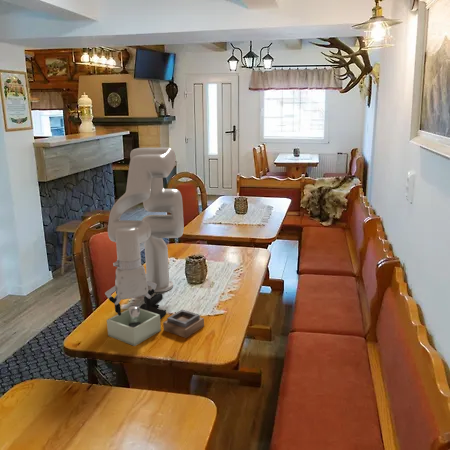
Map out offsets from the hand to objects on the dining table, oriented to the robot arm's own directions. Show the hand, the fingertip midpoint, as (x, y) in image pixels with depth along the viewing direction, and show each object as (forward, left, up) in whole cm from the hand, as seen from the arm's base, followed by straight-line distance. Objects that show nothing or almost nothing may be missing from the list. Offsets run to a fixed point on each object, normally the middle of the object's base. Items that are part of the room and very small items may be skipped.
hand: (133, 311), depth 158 cm
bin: (0, 0, -8) cm, 8 cm away
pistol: (-7, +19, -9) cm, 22 cm away
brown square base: (+12, +12, -8) cm, 19 cm away
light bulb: (0, 0, -7) cm, 7 cm away
